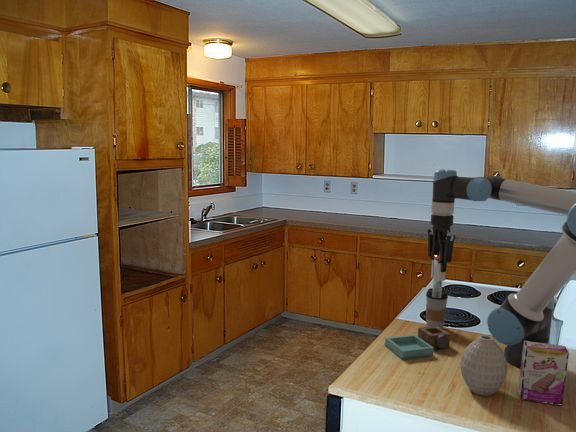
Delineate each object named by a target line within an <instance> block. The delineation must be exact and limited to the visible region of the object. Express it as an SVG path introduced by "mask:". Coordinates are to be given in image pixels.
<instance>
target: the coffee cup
mask: <svg viewBox="0 0 576 432" xmlns="http://www.w3.org/2000/svg"><path fill="white" fill-rule="evenodd" d="M432 290H433V287H432V288H431V287H430V288H427V291H426V293H425V296H426V299H425V300H426V302H425V303H426V304H425V309H426V310H425V312H426V313H425V316H426V317H425V318H426V325H425V326H426V327H431V326H438V327H440V328H442V329H444V323H445V319H446V312H447V311H446V310H447V301H448V299H449V295H448V291H447V290H445V289H443V288H442V295H441V298H434V297H432Z"/></svg>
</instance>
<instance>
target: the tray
mask: <svg viewBox="0 0 576 432" xmlns="http://www.w3.org/2000/svg"><path fill="white" fill-rule="evenodd" d="M384 340H385V341H384V342H385V343H384V346H385V348H387V349H388V350H389V351H391V352H392V353H393V354H394V355H396V356H397V357H398V358H400V359H401V361H402V360H404V361H405V360H411V359H413V360H414V359H420V358H427V357H434V351H435V349H434V347H432V346H431V345H429V344H428V343H426V342H425V341H423V340H422V339H421V338H419V337H418V335H416V334H407V335H399V336H398V335H397V336H390V337H385V339H384Z"/></svg>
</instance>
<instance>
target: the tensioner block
mask: <svg viewBox="0 0 576 432" xmlns="http://www.w3.org/2000/svg"><path fill="white" fill-rule="evenodd" d="M417 330H418V331H417V336H418V337H419V338H421V339H422V340H423V341H425V342H426V343H428V344H429V345H431V346H432V347H434V350H435V349H444V348H450V344H451V343H450V341H451V333H450V332H449V331H446V330H445V329H444V328H440V327H438V326H431V327H427V326H424V327H418V328H417Z"/></svg>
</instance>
